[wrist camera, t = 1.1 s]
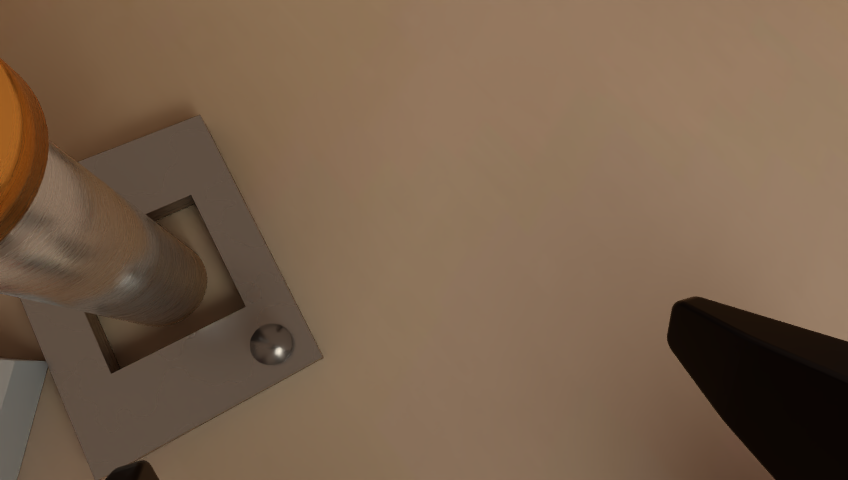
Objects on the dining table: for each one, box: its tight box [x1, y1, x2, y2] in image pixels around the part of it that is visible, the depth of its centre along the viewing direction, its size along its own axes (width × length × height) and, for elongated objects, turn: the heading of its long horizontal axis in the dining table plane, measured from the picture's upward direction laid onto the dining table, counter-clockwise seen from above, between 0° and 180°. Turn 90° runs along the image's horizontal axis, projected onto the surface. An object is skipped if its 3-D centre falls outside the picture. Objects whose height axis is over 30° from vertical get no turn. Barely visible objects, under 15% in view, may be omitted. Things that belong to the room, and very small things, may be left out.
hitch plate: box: [20, 115, 324, 480], centre depth 20 cm, size 12×9×2 cm
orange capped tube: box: [0, 58, 207, 327], centre depth 14 cm, size 5×5×14 cm
